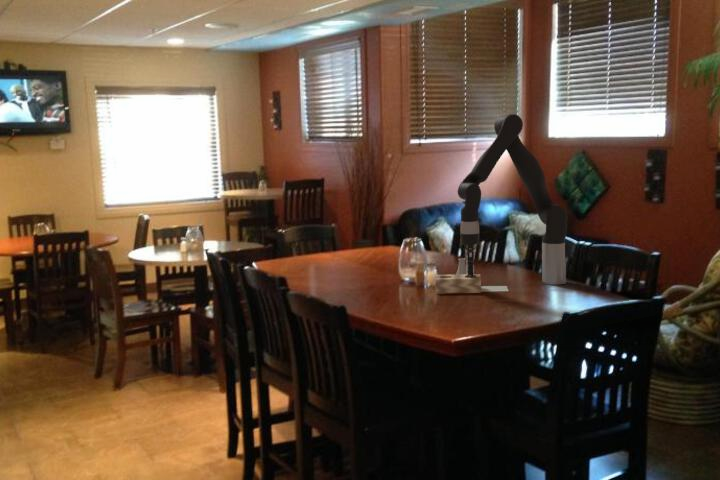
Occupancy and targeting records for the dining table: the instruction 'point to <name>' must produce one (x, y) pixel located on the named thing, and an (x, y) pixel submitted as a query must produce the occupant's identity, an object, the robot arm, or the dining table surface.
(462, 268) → the flask
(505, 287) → the mat
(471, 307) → the dining table surface
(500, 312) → the dining table surface
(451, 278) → the hole block
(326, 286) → the dining table surface
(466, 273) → the peg
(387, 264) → the dining table surface
